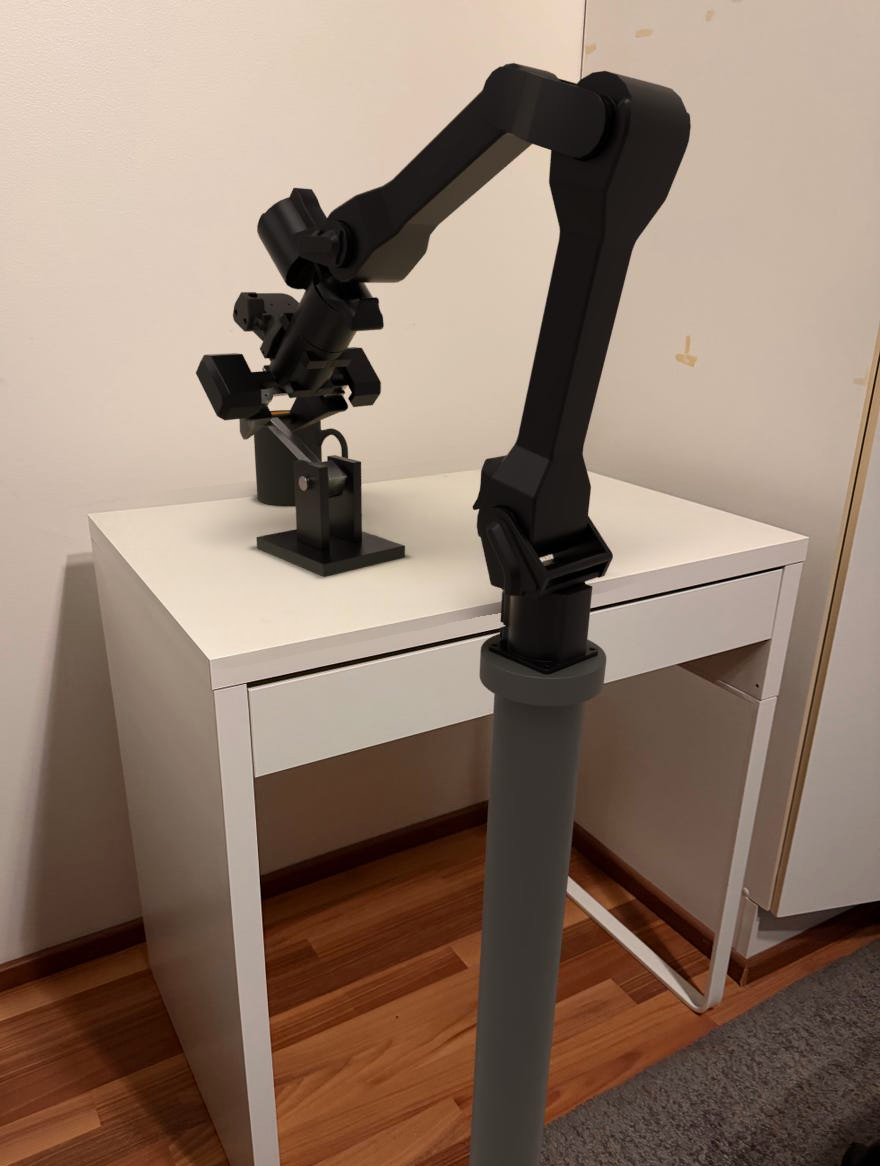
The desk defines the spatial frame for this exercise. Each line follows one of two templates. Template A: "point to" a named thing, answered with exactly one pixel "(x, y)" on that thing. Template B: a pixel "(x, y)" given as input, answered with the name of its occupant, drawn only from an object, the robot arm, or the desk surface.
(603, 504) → the desk surface
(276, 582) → the desk surface
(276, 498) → the mug
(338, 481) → the tap lever
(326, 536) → the black stand
